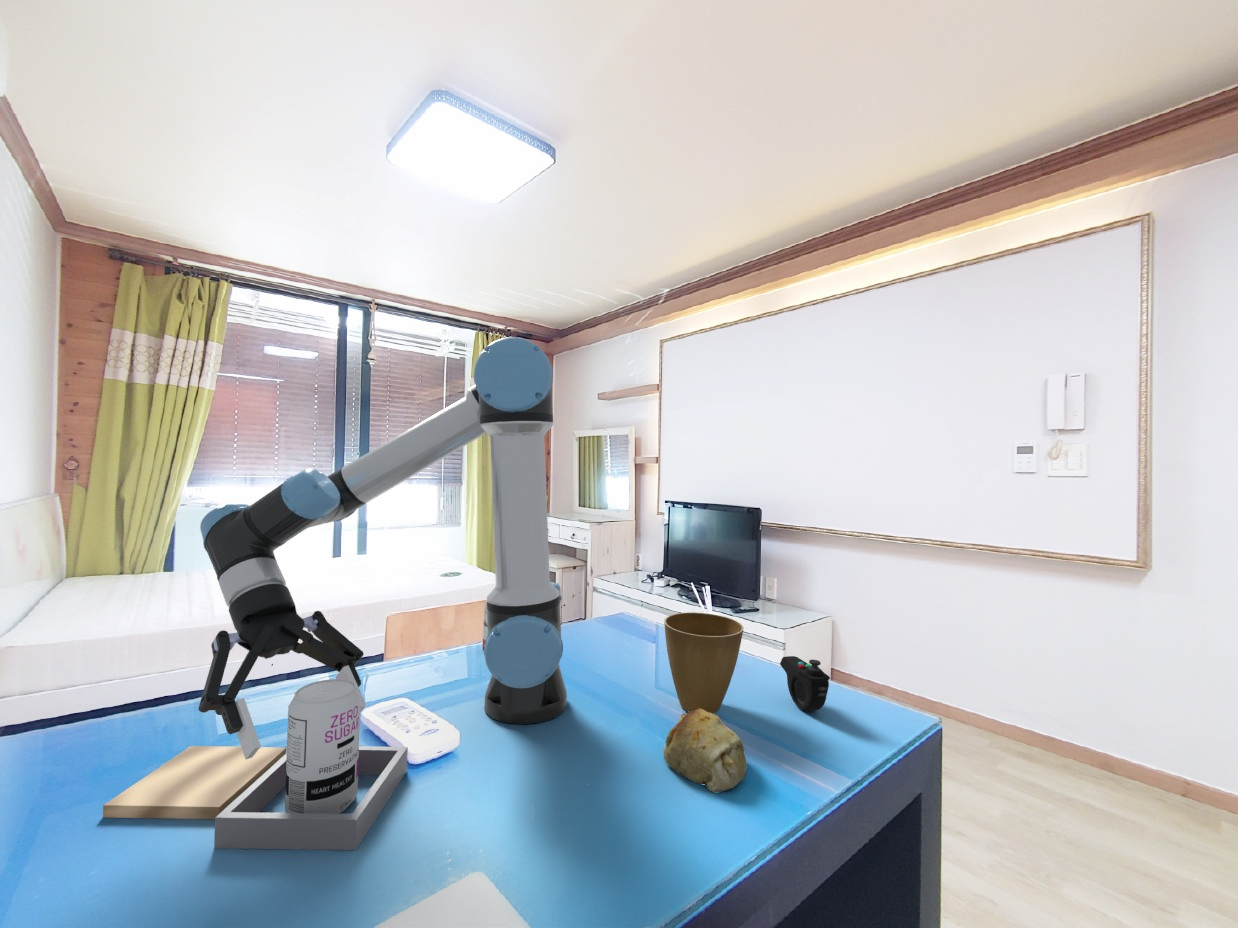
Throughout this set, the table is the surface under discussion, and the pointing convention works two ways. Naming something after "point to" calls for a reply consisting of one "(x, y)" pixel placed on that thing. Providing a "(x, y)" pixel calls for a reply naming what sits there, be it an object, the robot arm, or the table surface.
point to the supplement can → (323, 747)
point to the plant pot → (702, 657)
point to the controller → (806, 682)
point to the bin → (309, 830)
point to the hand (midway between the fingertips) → (310, 730)
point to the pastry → (706, 751)
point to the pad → (193, 784)
